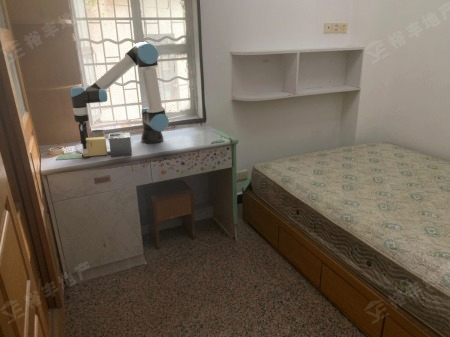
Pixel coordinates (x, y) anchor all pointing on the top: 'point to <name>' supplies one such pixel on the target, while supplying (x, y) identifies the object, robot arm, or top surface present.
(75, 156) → the pad
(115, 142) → the dispenser
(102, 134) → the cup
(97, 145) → the yellow rectangular block
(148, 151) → the top surface
